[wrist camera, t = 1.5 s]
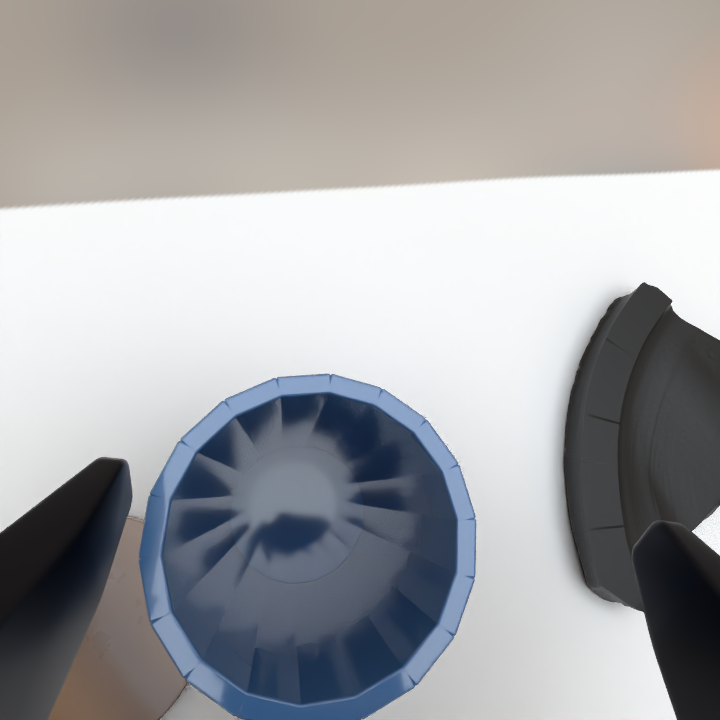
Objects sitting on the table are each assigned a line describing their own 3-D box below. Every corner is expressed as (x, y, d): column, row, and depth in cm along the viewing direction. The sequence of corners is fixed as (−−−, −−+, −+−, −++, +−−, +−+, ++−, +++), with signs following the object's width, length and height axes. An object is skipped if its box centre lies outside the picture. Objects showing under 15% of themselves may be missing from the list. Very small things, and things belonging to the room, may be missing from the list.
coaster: (107, 799, 18) (101, 809, 17) (-75, 664, 18) (-87, 670, 18) (249, 591, 20) (248, 594, 20) (85, 473, 20) (79, 473, 20)
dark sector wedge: (492, 525, 22) (507, 527, 21) (617, 288, 26) (638, 275, 25) (655, 634, 22) (683, 645, 20) (756, 379, 26) (787, 372, 24)
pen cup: (315, 622, 20) (361, 810, 8) (191, 532, 20) (59, 590, 8) (397, 492, 22) (533, 493, 10) (281, 410, 22) (278, 314, 10)
